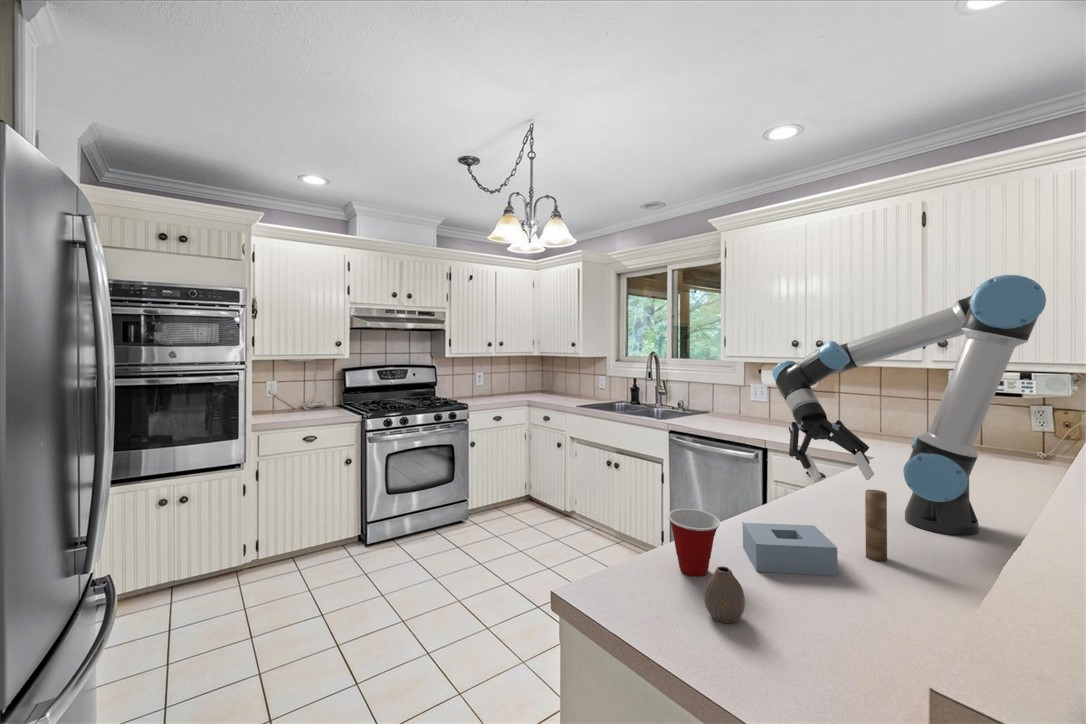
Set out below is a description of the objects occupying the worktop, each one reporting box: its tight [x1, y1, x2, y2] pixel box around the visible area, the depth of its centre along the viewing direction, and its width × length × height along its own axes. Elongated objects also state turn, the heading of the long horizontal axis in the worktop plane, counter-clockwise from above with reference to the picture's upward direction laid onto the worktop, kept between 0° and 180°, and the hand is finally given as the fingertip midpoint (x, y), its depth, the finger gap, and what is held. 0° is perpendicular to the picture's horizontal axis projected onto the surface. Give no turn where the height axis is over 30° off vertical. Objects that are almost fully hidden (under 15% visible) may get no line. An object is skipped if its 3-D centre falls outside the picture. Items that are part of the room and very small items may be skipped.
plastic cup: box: [667, 508, 721, 578], centre depth 106 cm, size 11×11×12 cm
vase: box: [703, 565, 746, 624], centre depth 88 cm, size 7×7×9 cm
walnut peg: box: [864, 489, 888, 563], centre depth 110 cm, size 4×4×15 cm
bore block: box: [742, 522, 839, 577], centre depth 110 cm, size 16×13×6 cm
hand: (844, 478), depth 119 cm, fingers open, 13 cm apart
